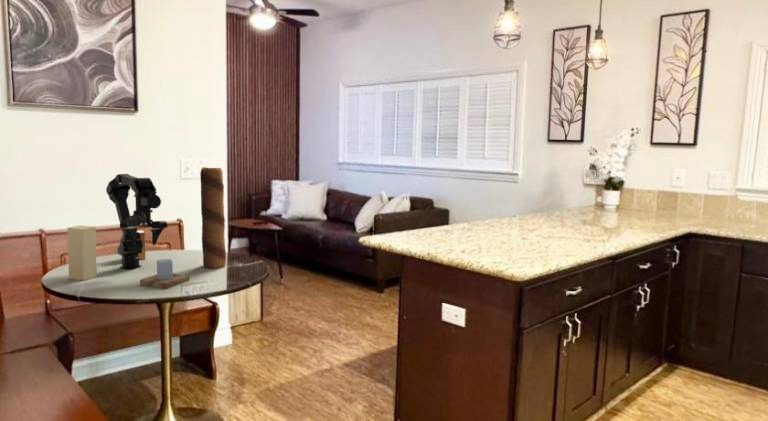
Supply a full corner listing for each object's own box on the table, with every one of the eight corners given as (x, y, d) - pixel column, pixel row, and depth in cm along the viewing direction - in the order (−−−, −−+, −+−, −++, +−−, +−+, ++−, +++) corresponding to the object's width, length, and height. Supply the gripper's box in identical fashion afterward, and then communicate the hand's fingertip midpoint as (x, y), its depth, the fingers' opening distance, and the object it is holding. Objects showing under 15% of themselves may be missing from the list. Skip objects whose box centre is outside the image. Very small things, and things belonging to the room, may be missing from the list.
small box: (127, 261, 249) (126, 233, 248) (125, 258, 255) (124, 231, 253) (145, 259, 254) (145, 232, 252) (143, 256, 259) (142, 230, 257)
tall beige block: (99, 276, 221) (97, 226, 219) (83, 281, 215) (81, 229, 212) (84, 274, 224) (82, 224, 221) (68, 278, 217) (66, 227, 214)
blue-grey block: (157, 277, 216) (156, 260, 215) (170, 275, 219) (169, 258, 218) (159, 280, 212) (158, 262, 211) (172, 278, 215) (172, 261, 214)
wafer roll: (196, 267, 242) (194, 167, 236) (212, 262, 252) (211, 166, 246) (215, 270, 238) (214, 168, 232) (230, 265, 248) (229, 167, 242)
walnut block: (140, 284, 212) (139, 279, 211) (162, 277, 224) (162, 272, 224) (167, 288, 208) (167, 283, 208) (189, 280, 220) (189, 275, 220)
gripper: (110, 208, 218) (111, 246, 219) (151, 208, 215) (152, 247, 215) (128, 207, 229) (128, 243, 230) (167, 207, 226) (168, 244, 226)
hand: (144, 245), depth 225 cm, fingers open, 9 cm apart
